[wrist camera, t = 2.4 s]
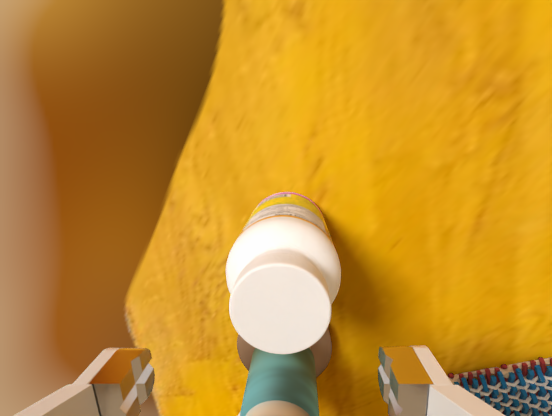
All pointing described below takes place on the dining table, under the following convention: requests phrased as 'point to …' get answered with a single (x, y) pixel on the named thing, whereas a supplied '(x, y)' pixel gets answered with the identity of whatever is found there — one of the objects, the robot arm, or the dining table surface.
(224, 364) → the dining table surface
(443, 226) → the dining table surface
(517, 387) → the woven mat
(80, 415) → the robot arm
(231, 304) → the supplement bottle
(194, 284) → the dining table surface
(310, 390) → the bobbin
